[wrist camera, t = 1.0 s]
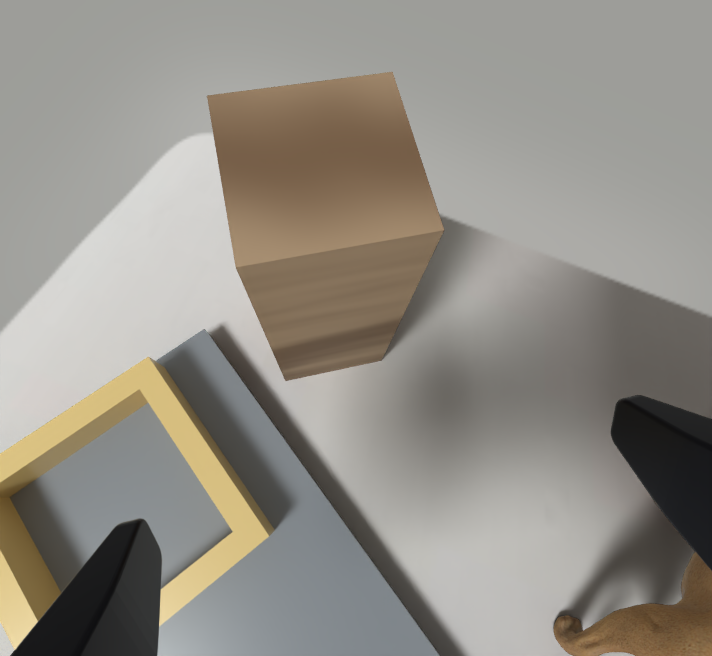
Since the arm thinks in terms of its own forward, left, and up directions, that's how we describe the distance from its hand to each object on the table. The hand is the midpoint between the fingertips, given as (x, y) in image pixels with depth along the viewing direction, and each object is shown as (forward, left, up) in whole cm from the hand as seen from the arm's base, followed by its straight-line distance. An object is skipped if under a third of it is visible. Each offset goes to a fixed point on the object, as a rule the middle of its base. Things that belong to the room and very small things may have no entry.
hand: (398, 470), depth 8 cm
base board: (-1, +8, -14) cm, 16 cm away
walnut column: (+7, -3, -14) cm, 16 cm away
